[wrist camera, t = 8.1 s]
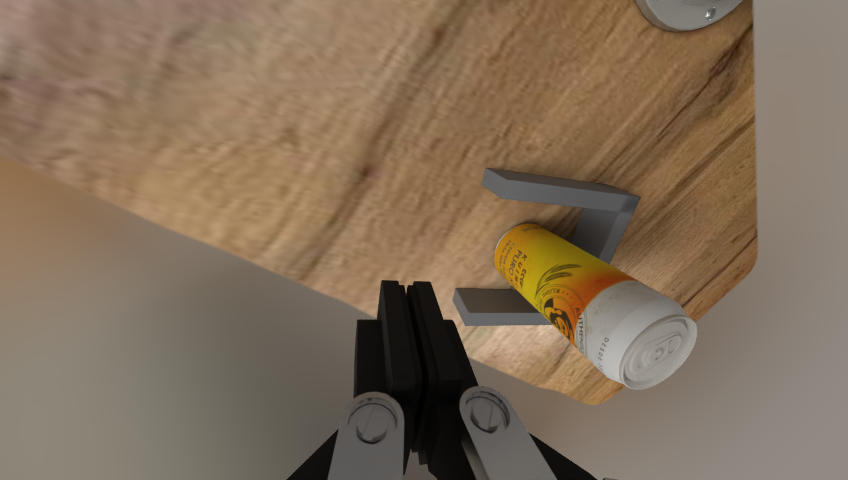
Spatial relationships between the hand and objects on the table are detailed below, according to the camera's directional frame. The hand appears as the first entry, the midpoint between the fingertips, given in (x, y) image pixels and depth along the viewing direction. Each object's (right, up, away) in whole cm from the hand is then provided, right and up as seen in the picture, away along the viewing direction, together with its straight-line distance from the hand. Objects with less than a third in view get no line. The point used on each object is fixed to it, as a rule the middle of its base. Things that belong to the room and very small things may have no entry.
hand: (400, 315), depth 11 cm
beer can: (+10, +2, +20) cm, 23 cm away
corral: (+11, +2, +20) cm, 23 cm away
